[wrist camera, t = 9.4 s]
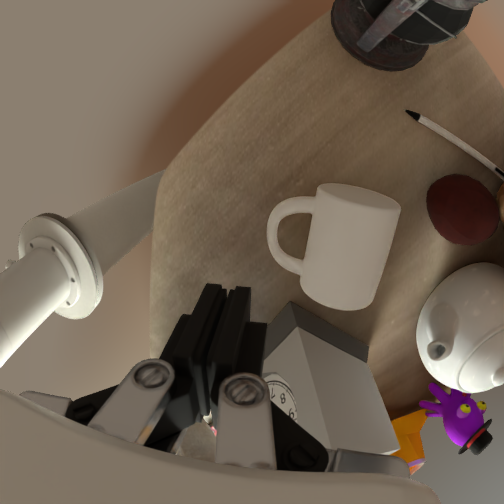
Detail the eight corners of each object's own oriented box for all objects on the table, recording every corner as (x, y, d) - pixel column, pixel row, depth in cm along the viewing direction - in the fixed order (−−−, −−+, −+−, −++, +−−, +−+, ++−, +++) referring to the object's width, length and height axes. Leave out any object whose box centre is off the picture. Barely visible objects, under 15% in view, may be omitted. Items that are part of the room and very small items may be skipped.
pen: (516, 191, 25) (521, 194, 24) (401, 113, 25) (405, 113, 24) (518, 185, 24) (523, 188, 23) (403, 106, 24) (407, 105, 23)
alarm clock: (289, 301, 36) (276, 455, 18) (380, 352, 37) (405, 482, 19) (215, 383, 44) (180, 494, 26) (294, 418, 46) (285, 521, 28)
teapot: (414, 374, 39) (434, 445, 26) (397, 284, 33) (434, 365, 20) (509, 330, 33) (544, 387, 21) (513, 232, 27) (575, 284, 15)
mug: (387, 192, 29) (414, 216, 21) (365, 274, 33) (380, 316, 26) (275, 172, 30) (269, 189, 22) (264, 259, 34) (255, 298, 27)
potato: (429, 155, 26) (456, 165, 20) (491, 191, 26) (520, 207, 20) (406, 216, 29) (427, 238, 24) (469, 244, 29) (493, 268, 24)
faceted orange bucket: (464, 425, 30) (417, 364, 45) (314, 507, 31) (289, 432, 45) (454, 450, 36) (418, 398, 50) (333, 515, 37) (310, 454, 51)
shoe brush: (255, 508, 31) (263, 492, 30) (209, 522, 27) (213, 507, 26) (192, 416, 51) (195, 398, 50) (156, 420, 47) (157, 401, 46)
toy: (481, 365, 37) (520, 420, 23) (455, 409, 40) (482, 465, 26) (436, 367, 38) (473, 433, 23) (410, 414, 41) (433, 478, 27)
